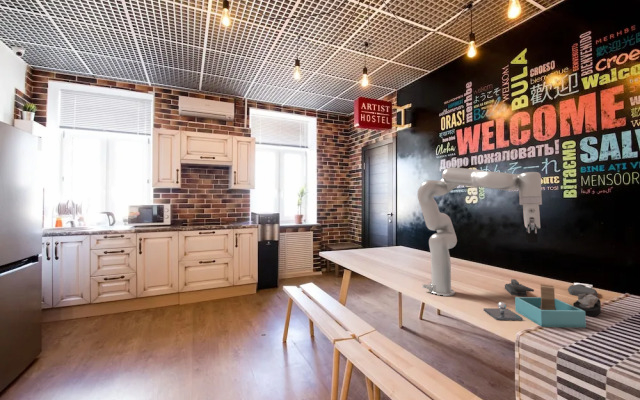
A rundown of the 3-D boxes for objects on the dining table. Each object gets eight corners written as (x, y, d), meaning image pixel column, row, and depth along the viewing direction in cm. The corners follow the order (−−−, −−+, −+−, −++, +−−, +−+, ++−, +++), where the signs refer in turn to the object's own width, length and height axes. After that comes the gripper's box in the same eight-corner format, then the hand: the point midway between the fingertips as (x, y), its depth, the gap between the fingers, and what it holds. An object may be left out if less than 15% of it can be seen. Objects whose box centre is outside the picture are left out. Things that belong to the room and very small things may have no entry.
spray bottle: (567, 295, 140) (569, 285, 158) (598, 300, 132) (596, 289, 150) (567, 289, 140) (568, 280, 158) (598, 293, 132) (595, 283, 150)
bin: (541, 326, 104) (541, 310, 104) (515, 311, 119) (515, 297, 119) (585, 327, 103) (585, 311, 103) (553, 311, 118) (553, 297, 118)
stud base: (496, 320, 111) (496, 306, 111) (483, 310, 120) (483, 297, 121) (522, 320, 110) (522, 306, 110) (507, 310, 120) (507, 298, 120)
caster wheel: (584, 322, 113) (567, 309, 123) (616, 318, 111) (596, 305, 120) (581, 307, 112) (564, 295, 122) (613, 303, 110) (594, 291, 120)
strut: (557, 319, 107) (556, 288, 108) (540, 317, 110) (539, 286, 111) (556, 315, 112) (554, 285, 112) (539, 312, 115) (538, 283, 115)
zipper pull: (512, 287, 131) (503, 275, 154) (513, 301, 131) (503, 287, 154) (535, 289, 127) (522, 276, 150) (536, 304, 127) (523, 289, 150)
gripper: (543, 201, 108) (545, 244, 108) (539, 201, 122) (541, 240, 122) (520, 201, 112) (521, 243, 112) (518, 201, 126) (520, 239, 126)
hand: (531, 241), depth 117 cm, fingers open, 9 cm apart
